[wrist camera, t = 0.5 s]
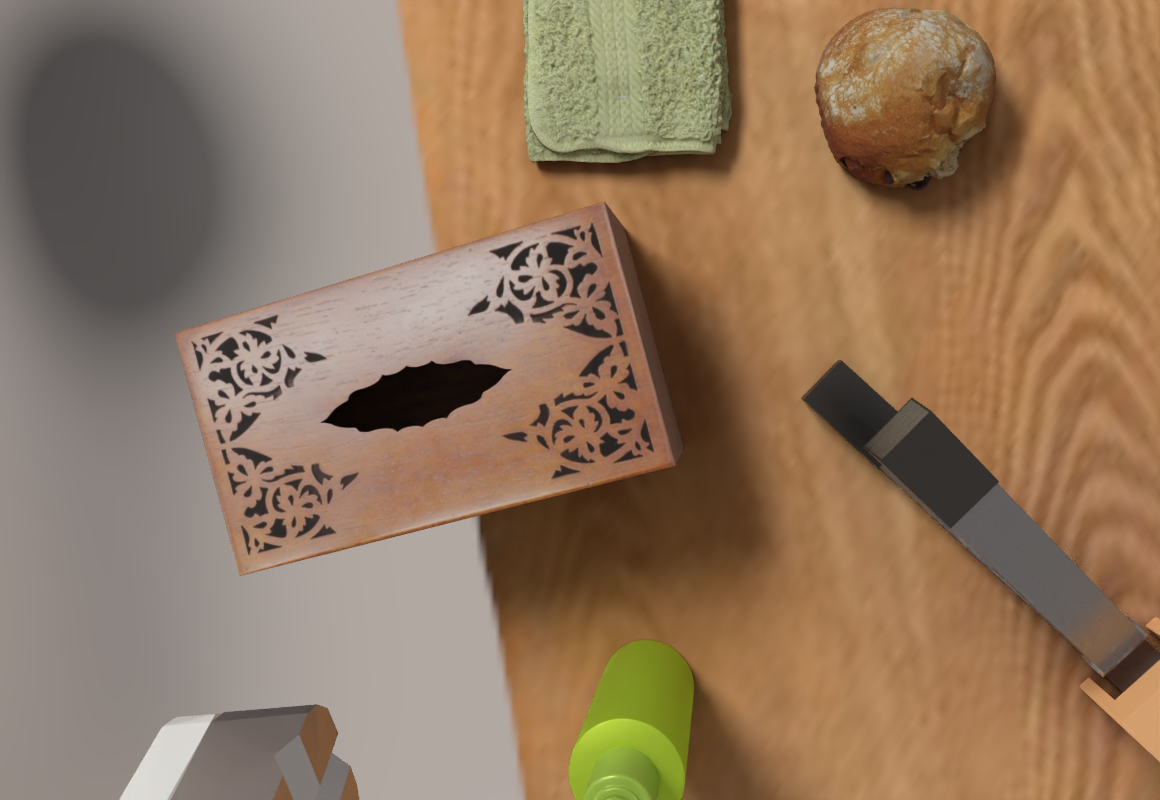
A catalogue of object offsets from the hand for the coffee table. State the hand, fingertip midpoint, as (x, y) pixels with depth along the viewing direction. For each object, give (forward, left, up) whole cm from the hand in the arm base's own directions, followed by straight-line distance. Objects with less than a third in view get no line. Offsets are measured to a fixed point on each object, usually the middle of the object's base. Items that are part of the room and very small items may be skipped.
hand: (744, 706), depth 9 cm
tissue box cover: (+13, +11, -50) cm, 52 cm away
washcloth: (+21, -13, -50) cm, 56 cm away
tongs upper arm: (-15, -5, -42) cm, 45 cm away
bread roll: (+5, -20, -49) cm, 54 cm away
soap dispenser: (-9, +17, -49) cm, 53 cm away
